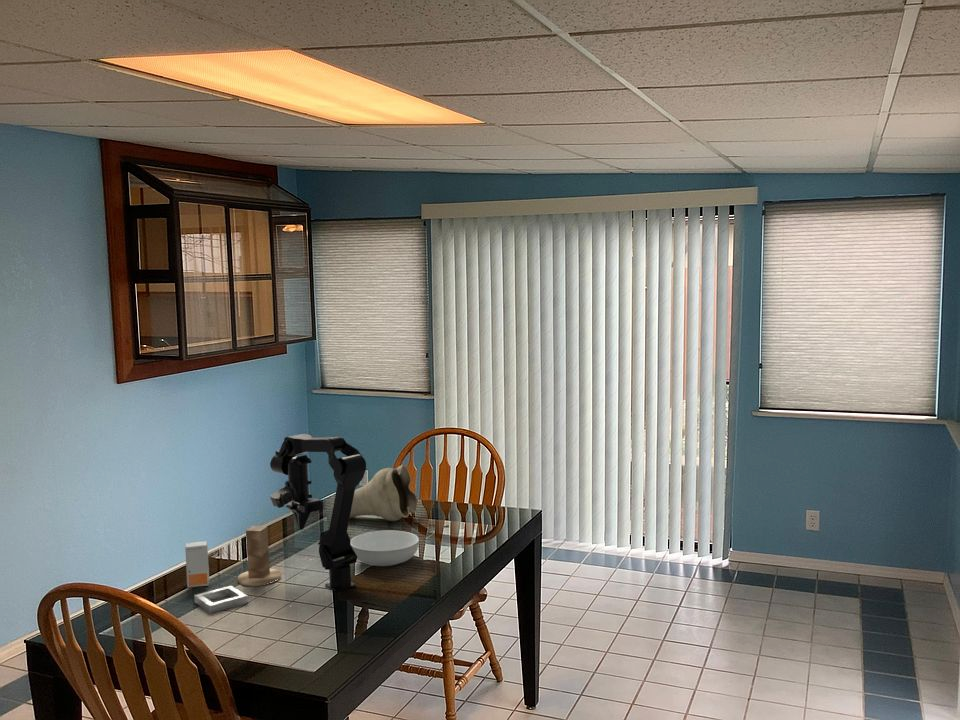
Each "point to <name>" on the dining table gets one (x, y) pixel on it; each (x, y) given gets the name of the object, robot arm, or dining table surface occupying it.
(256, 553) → the tan tall block
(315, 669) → the dining table surface
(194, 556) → the skincare box
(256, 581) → the cork coaster
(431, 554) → the dining table surface
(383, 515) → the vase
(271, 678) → the dining table surface
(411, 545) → the serving bowl
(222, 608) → the grey square frame
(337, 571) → the robot arm
